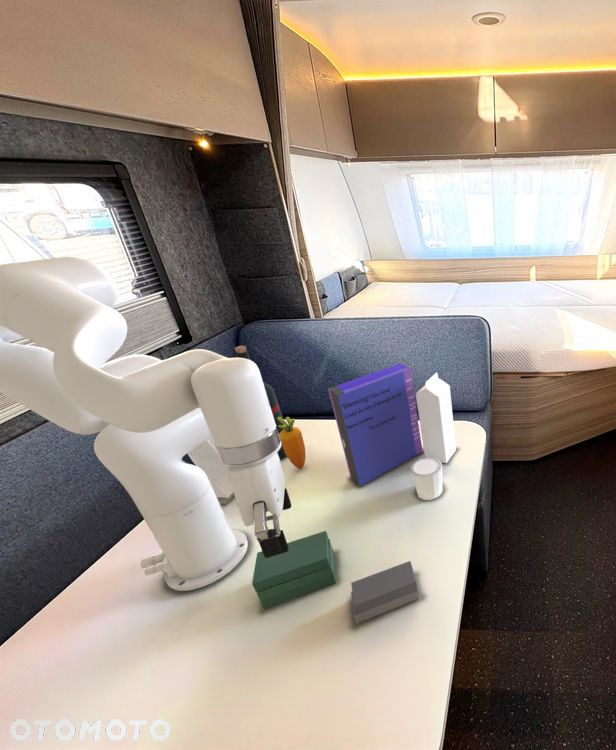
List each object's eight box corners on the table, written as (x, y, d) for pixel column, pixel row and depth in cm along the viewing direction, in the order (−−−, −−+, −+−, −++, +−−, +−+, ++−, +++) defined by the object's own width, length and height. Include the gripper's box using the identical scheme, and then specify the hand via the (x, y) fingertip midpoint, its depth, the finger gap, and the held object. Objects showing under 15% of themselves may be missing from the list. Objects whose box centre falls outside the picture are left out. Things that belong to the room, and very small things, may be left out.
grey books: (355, 624, 60) (350, 607, 58) (353, 599, 64) (348, 583, 62) (419, 598, 63) (416, 582, 62) (413, 576, 67) (410, 560, 65)
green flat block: (255, 592, 61) (251, 584, 60) (260, 560, 66) (257, 552, 66) (329, 566, 65) (327, 558, 64) (328, 538, 70) (326, 530, 69)
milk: (425, 459, 97) (412, 381, 87) (435, 446, 102) (425, 370, 93) (447, 463, 95) (436, 384, 86) (457, 449, 100) (448, 372, 91)
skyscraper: (220, 479, 93) (175, 374, 81) (253, 479, 92) (212, 373, 80) (194, 504, 85) (139, 392, 73) (229, 504, 85) (180, 392, 73)
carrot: (316, 466, 96) (300, 414, 90) (297, 478, 92) (280, 424, 86) (304, 460, 98) (288, 409, 92) (285, 471, 95) (268, 419, 88)
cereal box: (412, 445, 103) (398, 362, 92) (422, 452, 100) (410, 367, 89) (350, 477, 92) (327, 388, 81) (360, 486, 88) (337, 394, 78)
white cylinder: (439, 503, 83) (435, 478, 80) (409, 500, 84) (404, 474, 81) (449, 482, 89) (446, 457, 86) (421, 479, 90) (417, 455, 87)
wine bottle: (271, 441, 107) (236, 339, 94) (299, 447, 104) (267, 342, 91) (246, 457, 100) (204, 350, 88) (275, 465, 97) (236, 354, 84)
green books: (264, 609, 63) (256, 593, 61) (268, 576, 68) (261, 561, 66) (336, 582, 66) (330, 566, 65) (334, 554, 72) (329, 538, 70)
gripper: (229, 419, 61) (259, 501, 68) (204, 489, 46) (245, 583, 54) (282, 409, 64) (305, 489, 71) (274, 472, 49) (304, 564, 57)
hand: (279, 530), depth 62 cm, fingers open, 9 cm apart
